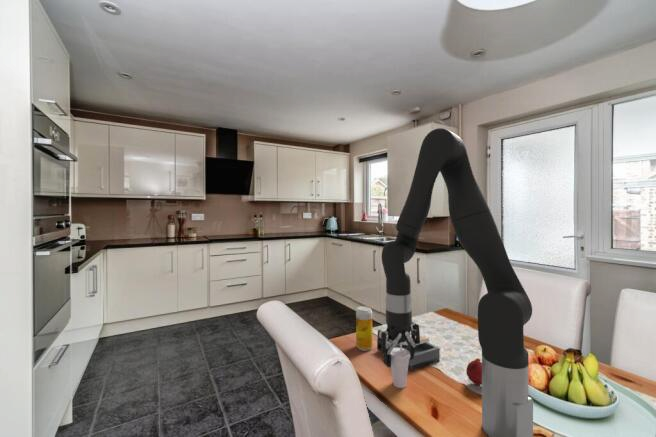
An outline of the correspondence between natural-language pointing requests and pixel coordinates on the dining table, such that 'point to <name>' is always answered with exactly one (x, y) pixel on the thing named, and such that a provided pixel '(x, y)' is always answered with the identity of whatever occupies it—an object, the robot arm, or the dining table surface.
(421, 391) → the dining table surface
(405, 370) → the smoothie
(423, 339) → the plate
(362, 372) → the dining table surface
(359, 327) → the glass of beer
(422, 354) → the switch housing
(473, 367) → the onion
